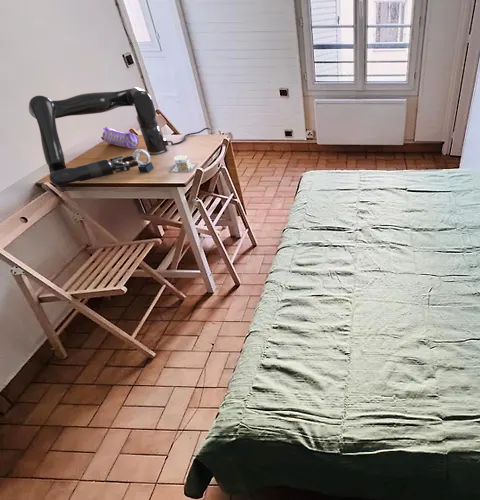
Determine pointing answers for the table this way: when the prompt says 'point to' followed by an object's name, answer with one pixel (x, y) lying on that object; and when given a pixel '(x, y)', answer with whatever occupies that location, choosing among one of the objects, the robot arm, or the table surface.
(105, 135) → the pencil case
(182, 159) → the stacked layers on plate
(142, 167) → the watch
